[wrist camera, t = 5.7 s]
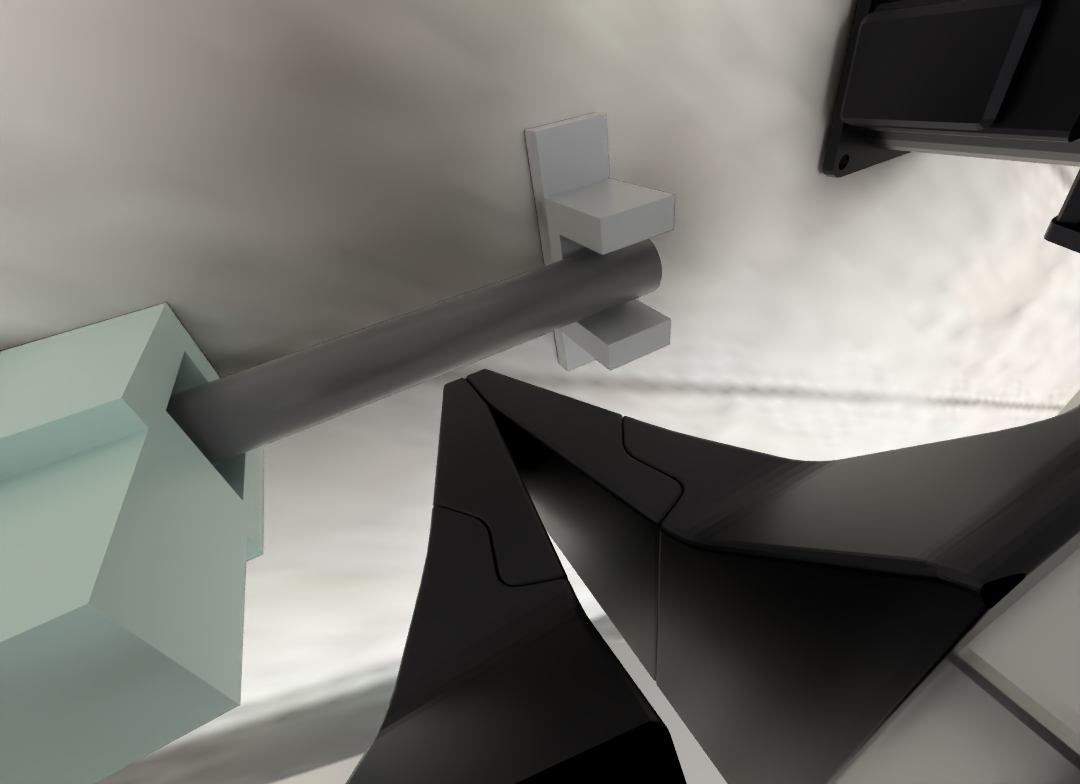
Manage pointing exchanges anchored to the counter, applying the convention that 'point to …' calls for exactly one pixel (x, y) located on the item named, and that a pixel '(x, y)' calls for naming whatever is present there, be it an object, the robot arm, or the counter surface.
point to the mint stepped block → (115, 552)
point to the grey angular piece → (474, 308)
